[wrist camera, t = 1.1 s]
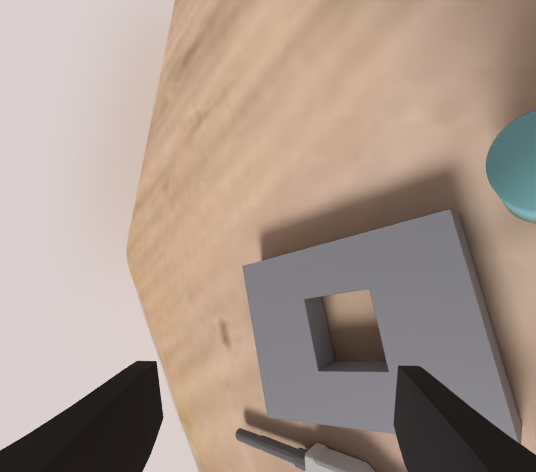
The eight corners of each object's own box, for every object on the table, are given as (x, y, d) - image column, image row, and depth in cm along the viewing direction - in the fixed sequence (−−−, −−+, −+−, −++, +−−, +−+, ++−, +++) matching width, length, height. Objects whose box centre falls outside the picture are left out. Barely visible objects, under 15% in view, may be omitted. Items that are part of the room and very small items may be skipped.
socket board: (458, 212, 19) (450, 208, 17) (521, 426, 17) (520, 449, 15) (261, 264, 29) (242, 266, 27) (286, 405, 27) (267, 417, 25)
